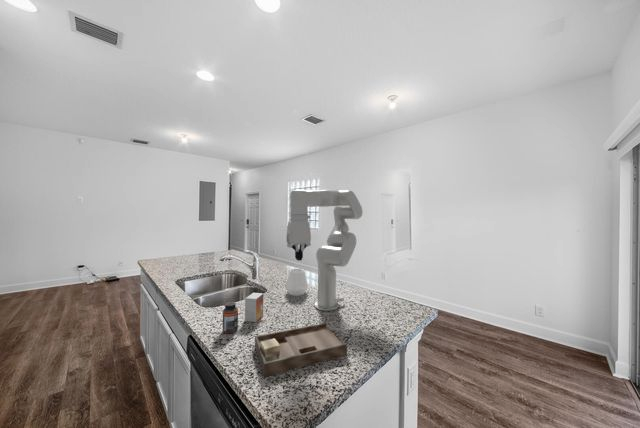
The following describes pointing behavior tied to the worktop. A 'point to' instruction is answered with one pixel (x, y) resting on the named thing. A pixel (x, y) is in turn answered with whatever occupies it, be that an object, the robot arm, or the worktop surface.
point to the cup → (296, 282)
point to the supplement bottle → (230, 318)
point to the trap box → (300, 348)
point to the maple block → (270, 348)
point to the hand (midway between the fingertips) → (298, 259)
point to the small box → (254, 307)
